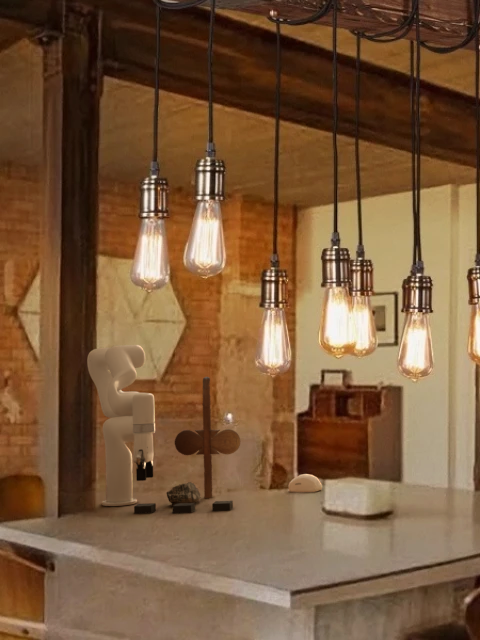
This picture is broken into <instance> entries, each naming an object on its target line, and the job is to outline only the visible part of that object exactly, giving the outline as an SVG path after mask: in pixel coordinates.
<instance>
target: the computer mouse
mask: <svg viewBox="0 0 480 640" xmlns="http://www.w3.org/2000/svg"><path fill="white" fill-rule="evenodd" d="M287 487H288V492H289V493H290V492H291V493H314V492H319V491H321V490H322V489H323V484H322V483H321V481H320V479H319V478H318V477H317V476H315V475H313V474H309V473H303V474H299V475H297V476H295V477H294V478H292V479H291V481H289V483H288V485H287Z"/></svg>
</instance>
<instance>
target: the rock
mask: <svg viewBox="0 0 480 640" xmlns="http://www.w3.org/2000/svg"><path fill="white" fill-rule="evenodd" d="M166 497H167V500H168V502H169V503H170V504H171V505H172V506H174V505H175V504H177V503H196V502H198V501H200V500H201V498H202V497H201V492H200V490H199V489H198V487H197V485H196V484H195V483H193V482H192V481H189V482H185V483H181V484H178V485H175V486H173V487H171V488H170V490H168V491H166Z"/></svg>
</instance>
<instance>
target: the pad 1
mask: <svg viewBox="0 0 480 640" xmlns="http://www.w3.org/2000/svg"><path fill="white" fill-rule="evenodd" d="M156 507H157V503H156V502H155V503H153V502H152V503H151V502H150V503H136V505H134V506H133V514H134V515H136V514H139V515H141V514H143V515H144V514H153V513H154V512H156V510H157V509H156Z"/></svg>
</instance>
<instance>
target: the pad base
mask: <svg viewBox="0 0 480 640" xmlns="http://www.w3.org/2000/svg"><path fill="white" fill-rule="evenodd" d="M194 511H196V502H194V503H177V504H175V505H172V514H192V513H193V512H194Z"/></svg>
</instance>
